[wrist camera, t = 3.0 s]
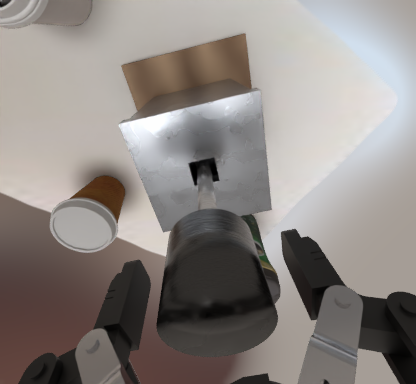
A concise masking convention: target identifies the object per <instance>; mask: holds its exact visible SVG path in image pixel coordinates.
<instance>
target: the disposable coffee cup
mask: <svg viewBox="0 0 416 384" xmlns="http://www.w3.org/2000/svg"><path fill="white" fill-rule="evenodd" d="M124 196H125V189H124V187H123V185H122V184H121V183H120V182H119V181H118V180H117V179H115V178H113V177H110V176H100V177H97V178H96V179H94V180H93V181H92V182H90V183H89V184H88V185H87V186H85V187H84V188H83V189H81V190H80V191H79V192H77V193H76V194H75V195H74V196H72V197H71V198H70V199H68V200H65V201H63V202H61V203H59V204H58V205H57V206H56V207H55V208H54V209H53V211H52V213H51V220H50V229H51V232H52V234H53V236H54V237H55V238H56V239H57V241H58V242H60V243H61V244H62V245H64V246H65V247H68V248H69V249H72V250H75V251H79V252H96V251H99V250H102V249H103V248H105V247H106V246H107V245H109V244H110V243H111V242H113V240H114V239H115V238H116V235H117V232H118V225H117V223H118V219H119V215H120V211H121V207H122V203H123V199H124Z"/></svg>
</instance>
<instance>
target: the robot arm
mask: <svg viewBox="0 0 416 384" xmlns="http://www.w3.org/2000/svg"><path fill="white" fill-rule="evenodd" d="M281 240H282V252H283V257H284V260H285V263H286V265H287V267H288V270H289V272H290V274H291V276H292V279H293V281H294V283H295V285H296V288H297V290H298V292H299V294H300V296H301V299H302V301H303V303H304V305H305V308H306V310H307V312H308V314H309V317H310V319H311V320H317V322H316V326H315V330H314V333H313V335H312V336H311V338H310V341H309V344H308V348H307V351H306V355H305V358H304V362H303V366H302V369H301V373H300V377H299V381H298V384H354V382H355V374H356V366H357V350H358V348H360V349H366V350H371V351H377V352H382V354H383V356H384V357H385V359H386V361H387V362H388V364H389V366H390V368H391V370H392V371H393V373H394V375H395V376H396V378H397V380H398V382H399V383H400V384H416V296H415V295H413V294H410V293H406V292H394V293H391V294H390V295H389V296H388V298H387V299H382V298H374V297H366V296H362V295H359V294H357V293H356V292H355V291H353V290H352V289H350V288H348V287H347V286H346V285H345V284H344V283H343V281H342V280H341V278H340V277H339V275H338V274H337V272H336V271H335V269H334V268H333V266H332V265H331V264H330V262H329V260H328V259H327V258H326V256H325V254H324V253H323V252H322V250H321V248H320V247H319V245H318V244H317V243H316V242H315V241H314V240H312V239H311V238H309V237H303V238H301V237H300V235H299V233H298V232H297V230H296V229H292V230H287V231H282V232H281ZM150 286H151V283H150V278H149V276H148V274H147V272H146V270H145V268H144V266H143V264H142V263H141V261H140V260H135V261H130V262H126V263H125V264H124V267H123V269H122V272H121V273H119V274H117V275H116V276H115V278H114V279H113V280H112V282H111V284H110V286H109V289H108V293H107V295H106V297H105V300H104V303H103V305H102V308H101V310H100V313H99V316H98V318H97V321H96V324H95V326H94V329H93V330H92V331H91V332H89V333H88V334H86V335H85V336H84V337H83V338H82V340H81V341H80V342H79V344H78V346H77V347H76V348H75V349H73V350H71V351H69V352H67V353H65V354H63V355H61V356H59V357H56V356H55V355H54V354H53V353H46V354H43V355H41V356H40V357H38V358H37V359H35V360H34V361H33V362H32V363H31V364H30V365H29V366H28V368H27V369H26V370H25V372H24V374H23V376H22V378H21V379H20V381H19V383H18V384H141V383H140V381H139V379H138V377H137V375H136V373H135V371H134V369H133V366H132V364H131V362H130V360H129V355H130V351H133V350H138V349H139V344H140V339H141V334H142V329H143V324H144V318H145V314H146V308H147V303H148V298H149V293H150ZM231 384H280V383H277V382H273V381H269V377H268V374H261V375H254V376H248V377H243V378H241V379H239V380H237V381H235V382H233V383H231Z"/></svg>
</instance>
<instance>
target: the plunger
mask: <svg viewBox="0 0 416 384" xmlns="http://www.w3.org/2000/svg"><path fill="white" fill-rule="evenodd" d="M190 165H191V169H192V172H193V176H194V179H197V188H198V211H194V212H192V213H189V214H188V215H186V216H184V217H183V218H181V219H180V220H179V221H178V222H177V223H176V224H175V225H174V227H173V228H172V230H171V232H170V235H169V241H168V248H167V255H166V262H165V269H164V276H163V283H162V290H161V297H160V304H159V311H158V318H157V332H158V334H159V336H160V338H161V339H162V340H163V341H164V342H165V343H166V344H167V345H168V346H170V347H172V348H173V349H175V350H177V351H180V352H182V353H186V354H189V355H194V356H202V357H219V356H228V355H232V354H237V353H240V352H244V351H246V350H249V349H251V348H253V347H255V346H257V345H259V344H260V343H262V342H263V341H265V340H266V339H267V338H268V337H269V336H270V335H271V334H272V333H273V331H274V330H275V328H276V325H277V321H278V315H277V311H276V308H275V304H274V301H273V298H272V295H271V292H270V289H269V286H268V283H267V280H266V277H265V274H264V271H263V268H262V265H261V262H260V259H259V256H258V252H257V249H256V246H255V243H254V240H253V237H252V234H251V231H250V229H249V226H248V225H247V223H246V222H245V221H244V220H243V219H242V218H241V217H239V216H238V215H236V214H234V213H232V212H230V211H227V210H223V209H217V206H216V199H215V192H214V186H213V179H212V176H213V175H217V174H218V171H217V166H216V162H215V157H213V158H208V159H204V160H200V161H195V162H191V163H190Z"/></svg>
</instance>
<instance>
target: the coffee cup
mask: <svg viewBox="0 0 416 384" xmlns="http://www.w3.org/2000/svg"><path fill="white" fill-rule="evenodd" d="M91 6H92V0H0V27H1V28H8V29H15V28H22V27H25V26H28V25H30V24H49V25H66V26H76V25H80V24H82V23H83V22H84V21H86V19H87V18H88V16H89V14H90V12H91Z"/></svg>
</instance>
